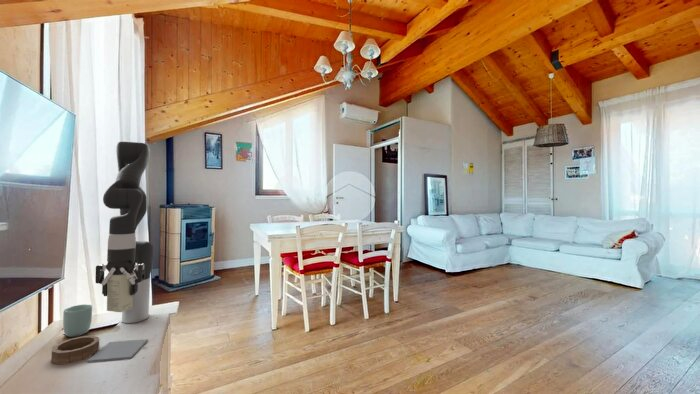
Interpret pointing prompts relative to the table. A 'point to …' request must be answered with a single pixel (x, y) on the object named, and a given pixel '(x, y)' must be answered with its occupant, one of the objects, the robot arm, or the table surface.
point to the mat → (118, 350)
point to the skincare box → (119, 293)
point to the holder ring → (75, 349)
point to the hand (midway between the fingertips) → (120, 295)
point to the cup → (77, 320)
